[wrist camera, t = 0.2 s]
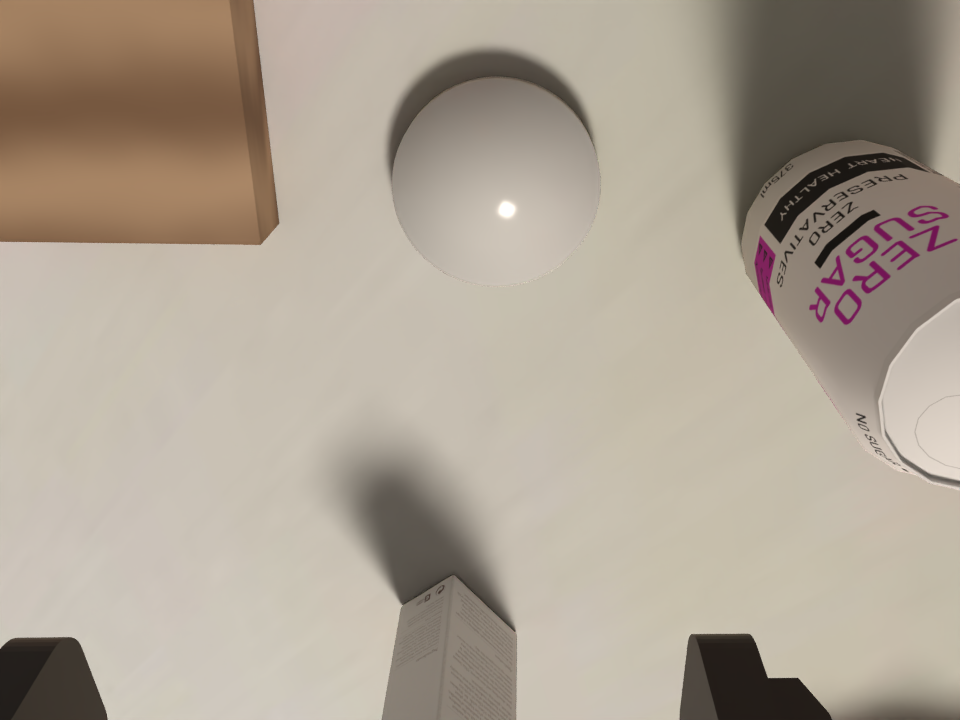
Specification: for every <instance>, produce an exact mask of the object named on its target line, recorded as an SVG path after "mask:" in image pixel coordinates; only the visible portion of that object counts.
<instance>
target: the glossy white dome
mask: <svg viewBox="0 0 960 720" xmlns="http://www.w3.org/2000/svg"><path fill="white" fill-rule="evenodd" d="M600 191H601V177H600V169H599V163H598V159H597V156H596V152H595V149H594V146H593V143H592V141H591V139H590V136H589V134H588V132H587V130H586V128H585V127H584V125H583V123H582V122H581V120H580V119H579V117H578V116H577V115H576V114H575V112H574V111H573V110H572V109H571V108H570V107H569V106H568V105H567V104H566V103H565V102H564V101H563V100H562V99H560V98H559V97H558V96H556V95H555V94H553V93H552V92H551V91H549V90H547V89H545V88H543V87H541V86H539V85H537V84H534V83H532V82H529V81H526V80H522V79H517V78H513V77H502V76H492V77H481V78H476V79H471V80H468V81H465V82H462V83H459V84H456V85H454V86H453V87H451V88H449V89H447V90H445V91H443V92H442V93H440V94H439V95H437V96H436V97H435V98H433V99H432V100H431V101H430V102H429V103H428V104H427V105H426V106H425V107H423V108H422V110H421V111H420V112H419V113H418V115H417V116H416V117H415V118H414V120H413V121H412V123H411V125H410V126H409V128H408V130H407V131H406V133H405V134H404V136H403V138H402V141H401V143H400V145H399V147H398V150H397V154H396V157H395V160H394V166H393V173H392V194H393V202H394V206H395V210H396V214H397V217H398V219H399V222H400V224H401V227H402V229H403V231H404V232H405V234H406V236H407V238H408V239H409V241H410V242H411V244H412V245H413V246H414V248H415V249H416V250H417V251H418V252H419V253H420V254H421V255H422V256H423V258H424V259H426V260H427V261H428V262H429V263H430V264H432V265H433V266H434V267H435V268H437V269H439V270H440V271H442V272H443V273H445V274H447V275H449V276H451V277H453V278H455V279H457V280H460V281H463V282H466V283H470V284H474V285H479V286H488V287H507V286H513V285H519V284H523V283H527V282H530V281H533V280H536V279H538V278H540V277H542V276H545V275H546V274H548V273H550V272H551V271H553V270H555V269H556V268H558V267H559V266H560V265H561V264H563V263H564V262H565V261H567V260H568V259H569V257H570V256H571V255H572V254H573V253H574V252H575V251H576V250H577V249H578V248H579V246H580V245H581V244H582V242H583V241H584V239H585V238H586V236H587V234H588V232H589V231H590V229H591V226H592V224H593V222H594V219H595V217H596V213H597V209H598V205H599V199H600Z"/></svg>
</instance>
